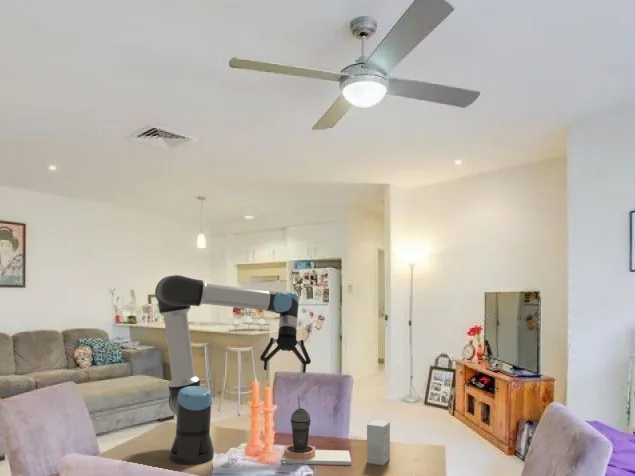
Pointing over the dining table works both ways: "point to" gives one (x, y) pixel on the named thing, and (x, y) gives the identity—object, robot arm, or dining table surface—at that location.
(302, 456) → the terracotta ring holder
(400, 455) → the dining table surface
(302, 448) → the beverage cup
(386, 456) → the small box
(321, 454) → the pale grey board
